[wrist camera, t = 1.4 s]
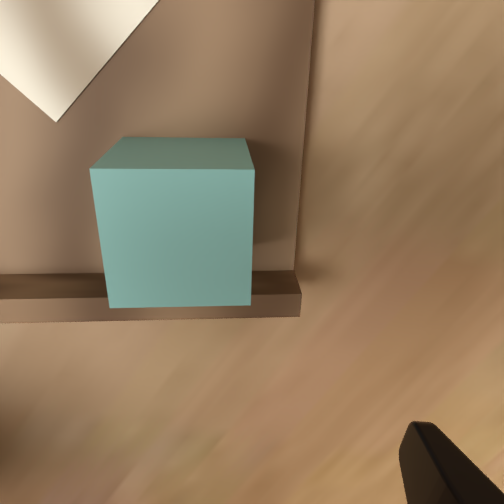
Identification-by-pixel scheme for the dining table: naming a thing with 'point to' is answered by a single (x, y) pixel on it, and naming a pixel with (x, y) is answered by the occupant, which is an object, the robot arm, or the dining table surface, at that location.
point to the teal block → (175, 221)
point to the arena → (142, 135)
